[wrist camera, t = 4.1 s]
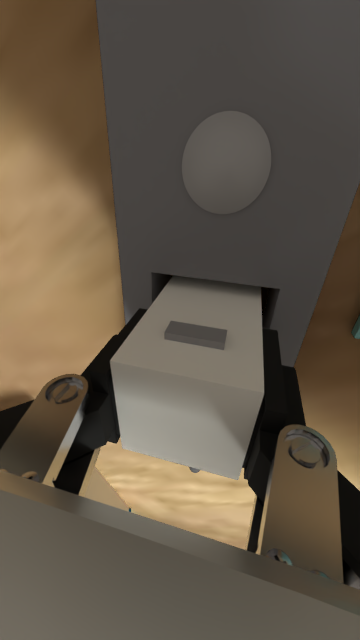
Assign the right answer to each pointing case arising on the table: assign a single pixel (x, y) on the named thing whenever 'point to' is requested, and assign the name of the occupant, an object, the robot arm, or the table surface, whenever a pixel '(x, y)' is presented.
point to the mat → (356, 329)
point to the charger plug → (193, 375)
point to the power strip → (232, 145)
